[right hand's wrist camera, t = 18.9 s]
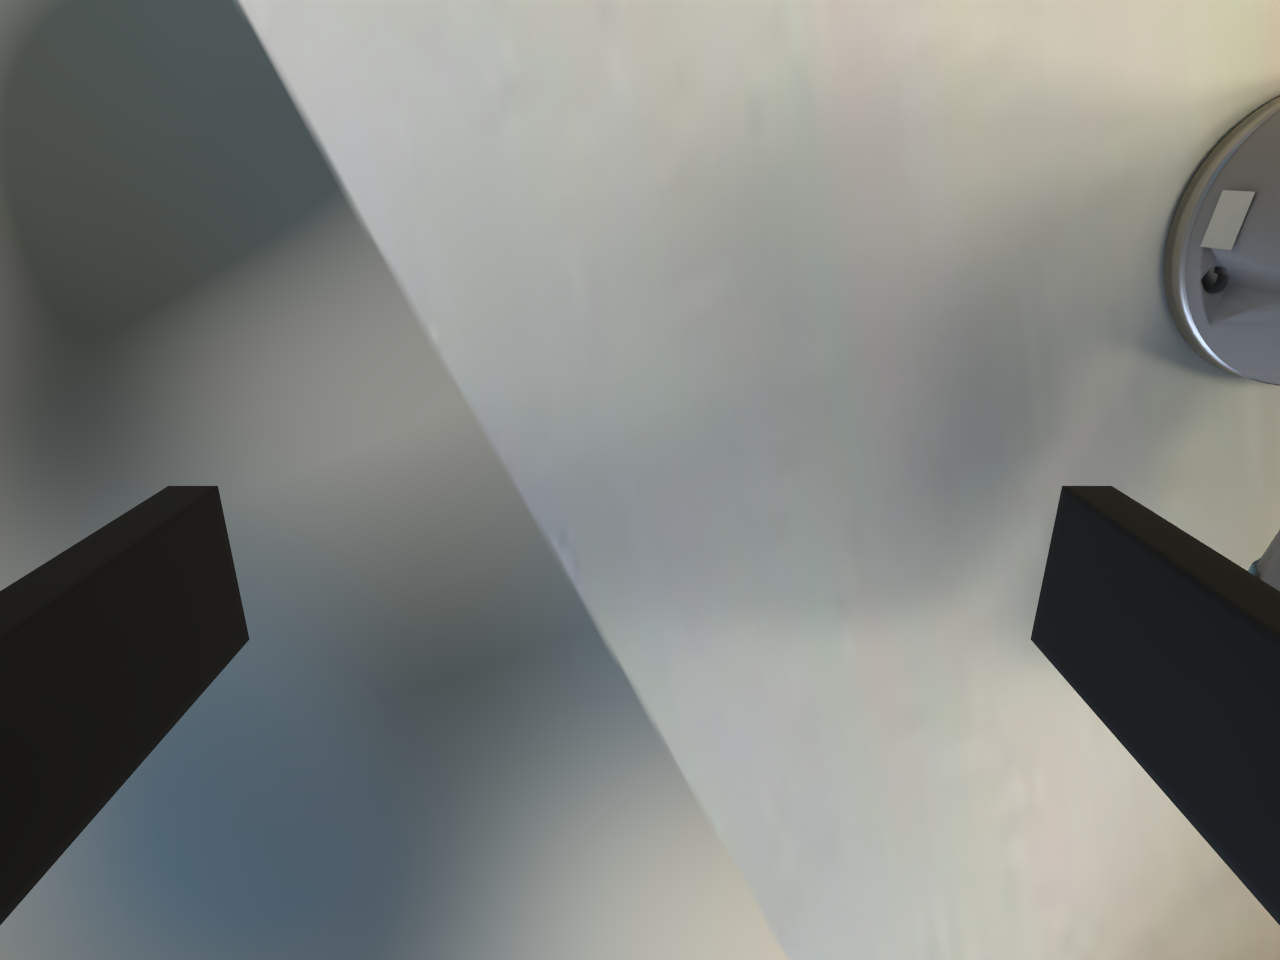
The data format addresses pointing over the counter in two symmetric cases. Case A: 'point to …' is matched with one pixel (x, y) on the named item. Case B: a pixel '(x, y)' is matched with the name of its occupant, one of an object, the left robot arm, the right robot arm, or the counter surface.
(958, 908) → the counter surface
